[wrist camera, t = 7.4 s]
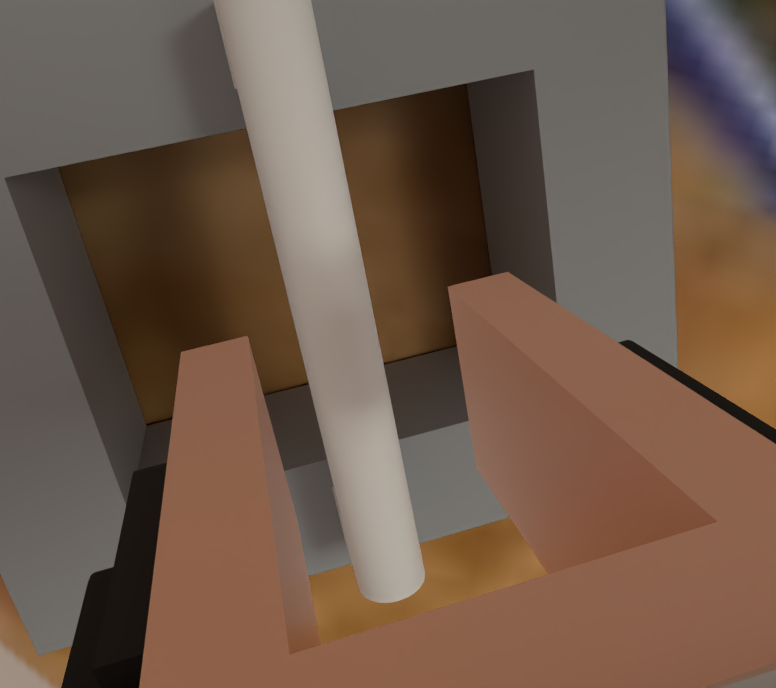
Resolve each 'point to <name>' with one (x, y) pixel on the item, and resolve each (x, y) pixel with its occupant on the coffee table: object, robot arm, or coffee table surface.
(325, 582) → the coffee table surface
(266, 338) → the coffee table surface
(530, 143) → the grey rectangular frame
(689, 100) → the coffee table surface
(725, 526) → the clip
